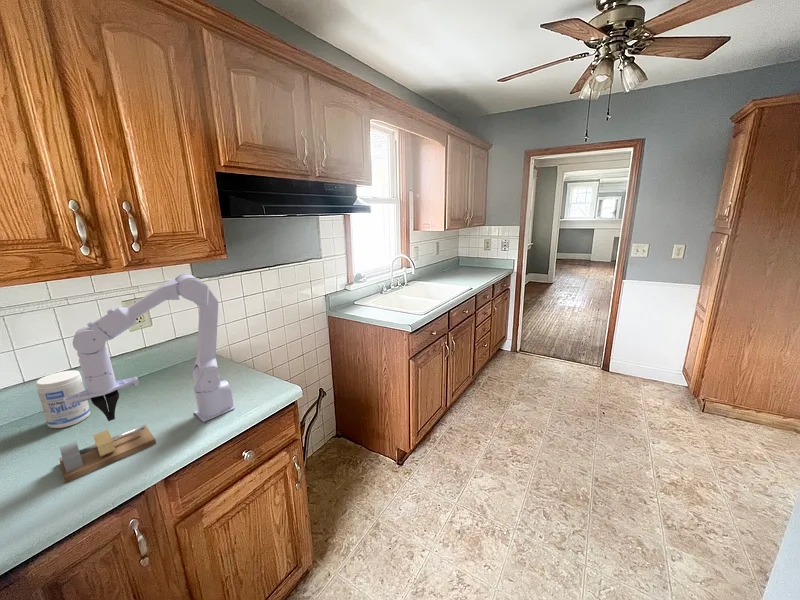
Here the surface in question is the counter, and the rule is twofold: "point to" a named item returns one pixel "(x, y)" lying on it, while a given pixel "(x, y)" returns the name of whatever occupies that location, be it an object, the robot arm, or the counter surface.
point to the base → (90, 460)
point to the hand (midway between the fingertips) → (111, 418)
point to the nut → (104, 443)
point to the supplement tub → (53, 394)
